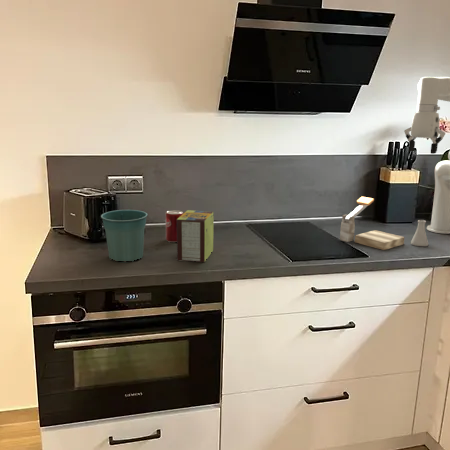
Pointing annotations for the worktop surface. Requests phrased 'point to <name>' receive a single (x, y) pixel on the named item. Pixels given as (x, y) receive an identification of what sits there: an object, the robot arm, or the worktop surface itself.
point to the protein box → (195, 235)
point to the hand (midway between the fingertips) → (422, 152)
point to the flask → (420, 235)
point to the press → (368, 236)
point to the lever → (360, 206)
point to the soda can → (172, 224)
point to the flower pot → (125, 234)
